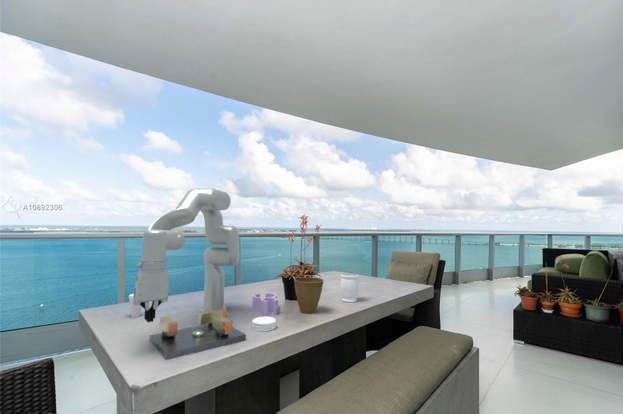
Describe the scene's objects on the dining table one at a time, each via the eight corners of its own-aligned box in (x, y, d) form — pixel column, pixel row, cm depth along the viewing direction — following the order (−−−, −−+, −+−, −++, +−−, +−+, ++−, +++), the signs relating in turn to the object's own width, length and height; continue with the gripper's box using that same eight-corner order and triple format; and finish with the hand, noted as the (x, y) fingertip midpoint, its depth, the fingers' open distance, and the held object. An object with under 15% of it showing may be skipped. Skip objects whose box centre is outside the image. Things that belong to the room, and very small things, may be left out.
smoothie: (126, 318, 139) (128, 286, 140) (127, 315, 144) (129, 284, 145) (143, 317, 142) (144, 285, 143) (143, 313, 147) (145, 283, 148)
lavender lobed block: (283, 314, 151) (283, 300, 152) (258, 317, 146) (258, 302, 147) (272, 304, 170) (273, 291, 170) (249, 306, 165) (250, 293, 165)
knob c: (210, 331, 119) (210, 316, 119) (220, 328, 122) (221, 314, 122) (222, 339, 110) (223, 323, 111) (234, 336, 113) (234, 321, 114)
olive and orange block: (157, 332, 116) (158, 317, 116) (169, 330, 119) (170, 315, 119) (166, 341, 108) (167, 325, 108) (179, 338, 110) (180, 322, 111)
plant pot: (289, 314, 152) (290, 280, 153) (298, 306, 166) (298, 276, 167) (319, 316, 148) (320, 282, 149) (325, 308, 162) (326, 277, 163)
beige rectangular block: (201, 329, 120) (202, 315, 121) (197, 326, 124) (197, 312, 124) (228, 323, 128) (228, 310, 128) (223, 321, 131) (223, 308, 131)
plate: (149, 341, 113) (149, 332, 113) (222, 326, 131) (222, 318, 132) (166, 359, 98) (166, 349, 98) (245, 339, 116) (246, 331, 116)
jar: (339, 302, 177) (340, 275, 178) (341, 298, 187) (341, 273, 188) (358, 303, 175) (358, 276, 176) (358, 299, 186) (359, 273, 187)
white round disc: (259, 323, 137) (260, 315, 137) (280, 326, 134) (280, 317, 134) (247, 330, 128) (247, 321, 128) (268, 333, 124) (268, 324, 125)
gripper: (130, 268, 100) (126, 327, 98) (179, 266, 109) (176, 320, 108) (126, 266, 105) (122, 322, 104) (172, 264, 115) (169, 315, 114)
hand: (149, 321), depth 106 cm, fingers closed
